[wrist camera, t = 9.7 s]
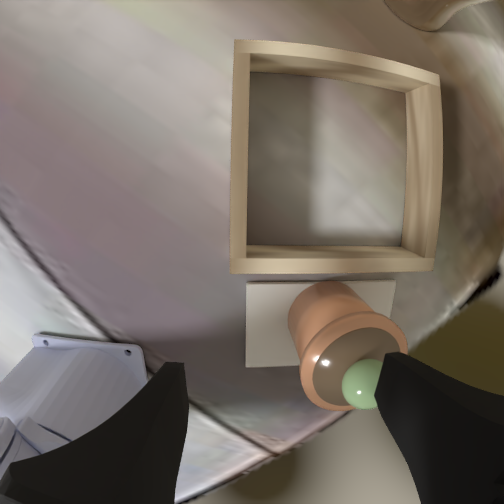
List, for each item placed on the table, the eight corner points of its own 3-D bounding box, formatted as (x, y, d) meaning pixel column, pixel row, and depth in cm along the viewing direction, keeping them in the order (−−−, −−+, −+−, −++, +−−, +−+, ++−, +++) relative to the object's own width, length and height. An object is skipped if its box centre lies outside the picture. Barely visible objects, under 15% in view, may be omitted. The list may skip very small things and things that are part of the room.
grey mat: (245, 364, 20) (245, 367, 20) (246, 282, 19) (246, 284, 19) (379, 354, 21) (381, 357, 21) (393, 279, 20) (396, 281, 19)
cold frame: (230, 258, 18) (229, 273, 16) (233, 59, 16) (234, 39, 13) (408, 258, 19) (432, 270, 16) (414, 84, 16) (439, 75, 14)
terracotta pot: (280, 356, 20) (306, 451, 12) (284, 277, 19) (323, 352, 10) (358, 349, 20) (412, 429, 12) (369, 274, 19) (446, 335, 11)
